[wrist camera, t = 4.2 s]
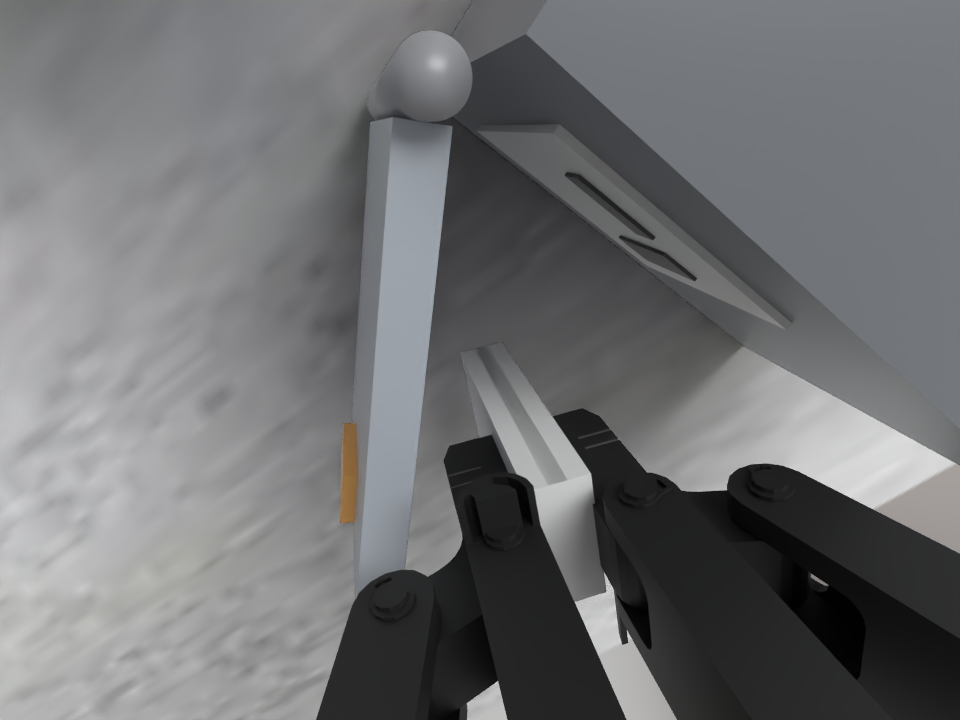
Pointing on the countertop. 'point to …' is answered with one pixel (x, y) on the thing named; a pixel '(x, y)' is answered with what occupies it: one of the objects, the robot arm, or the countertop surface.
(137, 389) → the countertop surface
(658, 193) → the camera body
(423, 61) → the side door
